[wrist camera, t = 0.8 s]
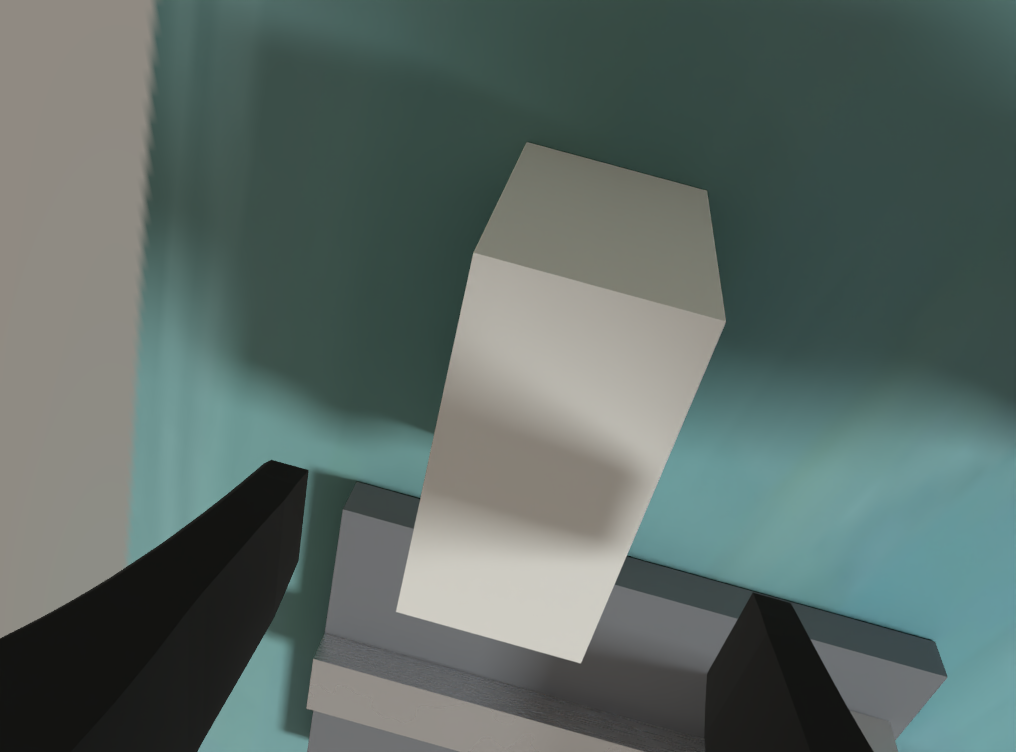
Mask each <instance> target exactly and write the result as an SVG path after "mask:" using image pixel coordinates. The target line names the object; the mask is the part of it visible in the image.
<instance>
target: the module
mask: <svg viewBox="0 0 1016 752" xmlns="http://www.w3.org/2000/svg"><path fill="white" fill-rule="evenodd" d="M725 323H726V317H725V310H724V303H723V296H722V290H721V283H720V276H719V269H718V262H717V255H716V248H715V242H714V235H713V228H712V221H711V214H710V207H709V200H708V194H707V191H706V190H702V189H699V188H695V187H691V186H688V185H684V184H680V183H677V182H673V181H669V180H665V179H662V178H658V177H654V176H651V175H647V174H643V173H640V172H636V171H632V170H629V169H625V168H621V167H617V166H614V165H610V164H606V163H603V162H599V161H595V160H592V159H588V158H584V157H581V156H577V155H573V154H569V153H566V152H562V151H558V150H555V149H551V148H547V147H544V146H540V145H536V144H533V143H529V142H526V144H525V146H524V148H523V150H522V152H521V155H520V157H519V159H518V161H517V163H516V165H515V167H514V169H513V171H512V173H511V175H510V177H509V180H508V182H507V184H506V186H505V188H504V190H503V192H502V194H501V196H500V198H499V200H498V202H497V205H496V207H495V209H494V211H493V213H492V215H491V217H490V219H489V221H488V223H487V225H486V227H485V230H484V232H483V234H482V236H481V238H480V240H479V242H478V244H477V246H476V248H475V250H474V252H473V257H472V262H471V266H470V271H469V275H468V280H467V285H466V289H465V294H464V299H463V303H462V308H461V313H460V317H459V322H458V326H457V331H456V336H455V340H454V345H453V350H452V354H451V359H450V363H449V368H448V373H447V377H446V382H445V387H444V391H443V396H442V401H441V405H440V410H439V414H438V419H437V424H436V428H435V433H434V438H433V442H432V447H431V452H430V456H429V461H428V465H427V470H426V475H425V479H424V484H423V489H422V493H421V498H420V503H419V507H418V512H417V516H416V521H415V526H414V530H413V535H412V540H411V544H410V549H409V554H408V558H407V563H406V567H405V572H404V577H403V581H402V586H401V591H400V595H399V600H398V605H397V609H396V612H398V613H402V614H405V615H409V616H413V617H416V618H420V619H423V620H427V621H430V622H434V623H438V624H441V625H445V626H448V627H452V628H455V629H459V630H463V631H466V632H470V633H473V634H477V635H481V636H484V637H488V638H491V639H495V640H498V641H502V642H506V643H509V644H513V645H516V646H520V647H524V648H527V649H531V650H534V651H538V652H541V653H545V654H549V655H552V656H556V657H559V658H563V659H567V660H570V661H574V662H577V663H581V662H582V660H583V657H584V655H585V653H586V650H587V648H588V646H589V643H590V641H591V639H592V636H593V634H594V632H595V629H596V627H597V624H598V622H599V620H600V617H601V615H602V613H603V610H604V608H605V606H606V603H607V601H608V599H609V596H610V594H611V592H612V589H613V587H614V584H615V582H616V580H617V577H618V575H619V573H620V570H621V568H622V566H623V563H624V561H625V559H626V556H627V554H628V552H629V549H630V547H631V544H632V542H633V540H634V537H635V535H636V533H637V530H638V528H639V526H640V523H641V521H642V519H643V516H644V514H645V511H646V509H647V507H648V504H649V502H650V500H651V497H652V495H653V493H654V490H655V488H656V486H657V483H658V481H659V479H660V476H661V474H662V471H663V469H664V467H665V464H666V462H667V460H668V457H669V455H670V453H671V450H672V448H673V446H674V443H675V441H676V439H677V436H678V434H679V431H680V429H681V427H682V424H683V422H684V420H685V417H686V415H687V413H688V410H689V408H690V406H691V403H692V401H693V399H694V396H695V394H696V391H697V389H698V387H699V384H700V382H701V380H702V377H703V375H704V373H705V370H706V368H707V366H708V363H709V361H710V358H711V356H712V354H713V351H714V349H715V347H716V344H717V342H718V340H719V337H720V335H721V333H722V330H723V328H724V326H725Z"/></svg>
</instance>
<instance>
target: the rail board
mask: <svg viewBox="0 0 1016 752" xmlns="http://www.w3.org/2000/svg"><path fill="white" fill-rule="evenodd" d="M419 503H420V499H418V498H414V497H410V496H407V495H403V494H400V493H396V492H392V491H389V490H385V489H381V488H378V487H374V486H371V485H367V484H363V483H360V482H356V484H355V486H354V488H353V490H352V492H351V494H350V496H349V498H348V500H347V502H346V504H345V506H344V508H343V512H342V519H341V526H340V532H339V539H338V546H337V553H336V560H335V567H334V573H333V580H332V587H331V594H330V601H329V607H328V614H327V621H326V628H325V633H324V636H323V638H322V640H321V642H320V645H319V647H318V649H317V652H316V654H315V656H314V658H313V665H312V672H311V679H310V686H309V694H308V701H307V708H306V709H310V710H313V716H312V723H311V730H310V737H309V743H308V750H307V752H705V741H704V729H705V701H706V683H707V673H708V671H709V669H710V667H711V666H712V664H713V662H714V660H715V658H716V657H717V655H718V653H719V651H720V650H721V648H722V646H723V644H724V643H725V641H726V639H727V637H728V635H729V634H730V632H731V630H732V628H733V627H734V625H735V623H736V621H737V620H738V618H739V616H740V614H741V612H742V611H743V609H744V607H745V605H746V604H747V602H748V600H749V598H750V596H751V595H752V593H757V592H753V591H750V590H746V589H742V588H739V587H735V586H731V585H728V584H724V583H721V582H717V581H713V580H710V579H706V578H703V577H699V576H695V575H692V574H688V573H685V572H681V571H677V570H674V569H670V568H667V567H663V566H659V565H656V564H652V563H648V562H645V561H641V560H638V559H634V558H630V557H627V556H626V559H625V561H624V563H623V566H622V568H621V570H620V573H619V575H618V577H617V580H616V582H615V584H614V587H613V589H612V592H611V594H610V596H609V599H608V601H607V603H606V606H605V608H604V610H603V613H602V615H601V617H600V620H599V622H598V624H597V627H596V629H595V632H594V634H593V636H592V639H591V641H590V643H589V646H588V648H587V650H586V653H585V655H584V657H583V660H582V662H581V663H577V662H574V661H570V660H567V659H563V658H559V657H556V656H552V655H549V654H545V653H541V652H538V651H534V650H531V649H527V648H524V647H520V646H516V645H513V644H509V643H506V642H502V641H498V640H495V639H491V638H488V637H484V636H481V635H477V634H473V633H470V632H466V631H463V630H459V629H455V628H452V627H448V626H445V625H441V624H438V623H434V622H430V621H427V620H423V619H420V618H416V617H413V616H409V615H405V614H402V613H398V612H396V609H397V605H398V600H399V595H400V591H401V586H402V581H403V577H404V572H405V567H406V563H407V558H408V554H409V549H410V544H411V540H412V535H413V530H414V526H415V521H416V516H417V512H418V507H419ZM757 594H760V593H757ZM760 595H764V594H760ZM764 596H768V595H764ZM768 597H771V596H768ZM771 598H775V597H771ZM775 599H778V598H775ZM779 600H782V599H779ZM782 601H786V600H782ZM786 602H789V601H786ZM789 603H791V604H792V606H793V608H794V610H795V612H796V613H797V615H798V617H799V619H800V621H801V623H802V624H803V626H804V628H805V630H806V632H807V634H808V636H809V638H810V639H811V641H812V643H813V645H814V647H815V649H816V651H817V652H818V654H819V656H820V658H821V660H822V662H823V664H824V665H825V667H826V669H827V671H828V673H829V675H830V676H831V678H832V680H833V682H834V684H835V686H836V687H837V689H838V691H839V693H840V695H841V696H842V698H843V700H844V702H845V704H846V705H847V707H848V709H849V711H850V712H851V714H852V716H853V717H854V719H855V721H856V723H857V724H858V726H859V728H860V729H861V731H862V733H863V735H864V736H865V738H866V740H867V741H868V743H869V745H870V746H871V748H872V750H873V751H874V752H898V750H897V747H896V743H895V740H896V739H897V738H898V736H899V735H900V734H901V733H902V732H903V730H904V729H905V728H906V727H907V726H908V724H909V723H910V722H911V721H912V720H913V718H914V717H915V716H916V715H917V713H918V712H919V711H920V710H921V709H922V707H923V706H924V705H925V704H926V703H927V701H928V700H929V699H930V698H931V697H932V695H933V694H934V693H935V692H936V691H937V689H938V688H939V687H940V686H941V684H942V683H943V682H944V681H945V680H946V678H947V674H946V671H945V668H944V666H943V663H942V660H941V657H940V654H939V652H938V649H937V646H936V643H935V642H934V641H930V640H926V639H923V638H919V637H915V636H912V635H908V634H905V633H901V632H897V631H894V630H890V629H887V628H883V627H879V626H876V625H872V624H869V623H865V622H861V621H858V620H854V619H851V618H847V617H843V616H840V615H836V614H832V613H829V612H825V611H822V610H818V609H814V608H811V607H807V606H804V605H800V604H796V603H793V602H789Z"/></svg>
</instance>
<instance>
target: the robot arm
mask: <svg viewBox="0 0 1016 752" xmlns="http://www.w3.org/2000/svg"><path fill="white" fill-rule="evenodd" d="M307 479H308V470H306V469H302V468H299V467H295V466H292V465H288V464H284V463H281V462H277V461H273V460H270V461H268V462H266V463H264V464H263V465H262V466H261V467H259V468H258V469H257V470H256V471H255V472H254V473H252V474H251V475H250V476H249V477H248V478H246V479H245V480H244V481H243V482H242V483H240V484H239V485H238V486H237V487H235V488H234V489H233V490H232V491H231V492H229V493H228V494H227V495H226V496H224V497H223V498H222V499H221V500H219V501H218V502H217V503H215V504H214V505H213V506H212V507H210V508H209V509H208V510H207V511H205V512H204V513H203V514H201V515H200V516H199V517H197V518H196V519H194V520H193V521H192V522H190V523H189V524H188V525H186V526H185V527H184V528H182V529H181V530H180V531H178V532H177V533H176V534H174V535H173V536H171V537H170V538H169V539H167V540H166V541H165V542H163V543H162V544H160V545H159V546H157V547H156V548H154V549H153V550H151V551H150V552H148V553H147V554H145V555H144V556H142V557H141V558H139V559H138V560H136V561H135V562H133V563H132V564H130V565H129V566H127V567H126V568H124V569H123V570H121V571H120V572H118V573H117V574H115V575H114V576H112V577H111V578H109V579H107V580H106V581H104V582H102V583H101V584H99V585H98V586H96V587H94V588H93V589H91V590H89V591H88V592H86V593H85V594H82V595H81V596H79V597H77V598H76V599H74V600H72V601H70V602H69V603H67V604H65V605H63V606H62V607H60V608H58V609H56V610H54V611H53V612H51V613H49V614H47V615H45V616H43V617H41V618H40V619H37V620H36V621H34V622H32V623H30V624H28V625H26V626H24V627H22V628H20V629H18V630H16V631H14V632H12V633H10V634H8V635H6V636H4V637H2V638H0V752H197V751H198V749H199V747H200V745H201V744H202V742H203V740H204V738H205V736H206V735H207V733H208V731H209V730H210V728H211V726H212V724H213V723H214V721H215V719H216V717H217V716H218V714H219V712H220V711H221V709H222V707H223V705H224V704H225V702H226V700H227V698H228V697H229V695H230V693H231V692H232V690H233V688H234V686H235V685H236V683H237V681H238V679H239V678H240V676H241V674H242V673H243V671H244V669H245V667H246V666H247V664H248V662H249V660H250V659H251V657H252V655H253V653H254V652H255V650H256V648H257V646H258V645H259V643H260V641H261V639H262V638H263V636H264V634H265V632H266V631H267V629H268V627H269V625H270V624H271V622H272V620H273V618H274V616H275V614H276V612H277V609H278V607H279V605H280V603H281V600H282V598H283V596H284V593H285V591H286V589H287V586H288V584H289V582H290V579H291V577H292V575H293V572H294V570H295V567H296V565H297V563H298V560H299V551H300V542H301V533H302V524H303V515H304V506H305V497H306V488H307ZM704 741H705V752H874V751H873V750H872V748H871V746H870V745H869V743H868V741H867V740H866V738H865V736H864V735H863V733H862V731H861V729H860V728H859V726H858V724H857V723H856V721H855V719H854V717H853V716H852V714H851V712H850V711H849V709H848V707H847V705H846V704H845V702H844V700H843V698H842V696H841V695H840V693H839V691H838V689H837V687H836V686H835V684H834V682H833V680H832V678H831V676H830V675H829V673H828V671H827V669H826V667H825V665H824V664H823V662H822V660H821V658H820V656H819V654H818V652H817V651H816V649H815V647H814V645H813V643H812V641H811V639H810V638H809V636H808V634H807V632H806V630H805V628H804V626H803V624H802V623H801V621H800V619H799V617H798V615H797V613H796V612H795V610H794V608H793V606H792V604H791V603H789V602H786V601H782V600H779V599H775V598H771V597H768V596H764V595H760V594H757V593H752V595H751V596H750V598H749V600H748V602H747V604H746V605H745V607H744V609H743V611H742V612H741V614H740V616H739V618H738V620H737V621H736V623H735V625H734V627H733V628H732V630H731V632H730V634H729V635H728V637H727V639H726V641H725V643H724V644H723V646H722V648H721V650H720V651H719V653H718V655H717V657H716V658H715V660H714V662H713V664H712V666H711V667H710V669H709V671H708V673H707V683H706V701H705V729H704Z"/></svg>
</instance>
